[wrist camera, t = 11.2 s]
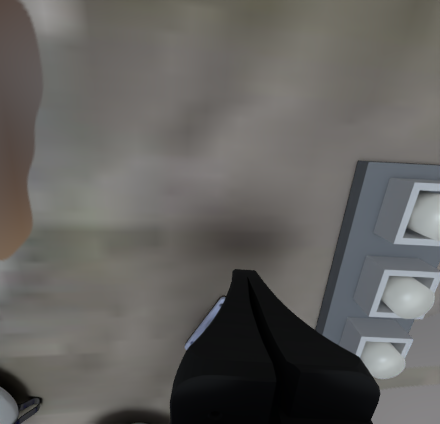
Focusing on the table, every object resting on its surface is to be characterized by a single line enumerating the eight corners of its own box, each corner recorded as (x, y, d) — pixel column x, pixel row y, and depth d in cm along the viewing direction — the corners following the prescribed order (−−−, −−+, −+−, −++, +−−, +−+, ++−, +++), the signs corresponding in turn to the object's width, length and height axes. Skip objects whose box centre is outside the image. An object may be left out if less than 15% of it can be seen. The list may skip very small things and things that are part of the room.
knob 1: (365, 351, 25) (386, 383, 22) (342, 339, 24) (361, 370, 21) (386, 332, 24) (413, 362, 21) (364, 319, 24) (387, 348, 20)
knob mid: (384, 298, 23) (412, 324, 19) (360, 283, 22) (384, 308, 19) (409, 274, 22) (443, 298, 18) (384, 258, 21) (415, 279, 18)
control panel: (386, 351, 27) (413, 385, 23) (311, 347, 27) (325, 380, 23) (461, 166, 20) (519, 171, 16) (358, 160, 20) (390, 164, 16)
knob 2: (408, 231, 20) (445, 248, 17) (381, 213, 20) (414, 226, 16) (437, 201, 19) (483, 213, 16) (410, 181, 19) (451, 189, 15)
